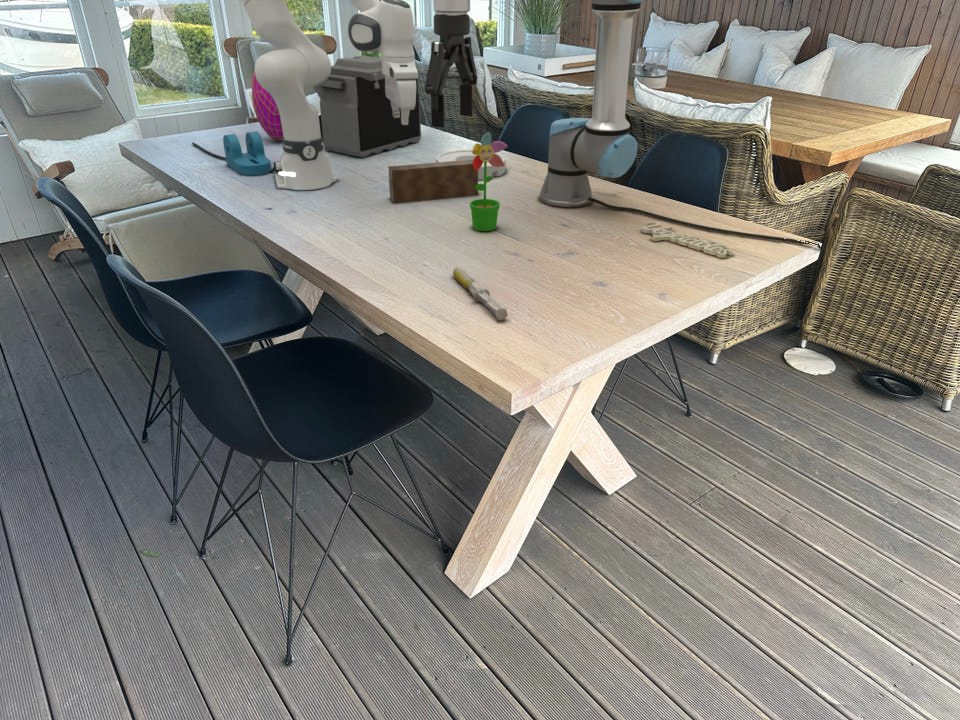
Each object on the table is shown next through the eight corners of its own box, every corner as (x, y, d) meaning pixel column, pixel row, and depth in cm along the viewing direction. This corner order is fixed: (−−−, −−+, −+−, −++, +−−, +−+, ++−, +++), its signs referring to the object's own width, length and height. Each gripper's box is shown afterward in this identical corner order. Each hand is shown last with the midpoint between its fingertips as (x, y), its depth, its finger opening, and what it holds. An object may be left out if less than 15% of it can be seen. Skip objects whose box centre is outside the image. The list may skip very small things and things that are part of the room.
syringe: (449, 274, 155) (449, 263, 153) (465, 272, 156) (464, 260, 154) (490, 323, 135) (491, 310, 133) (508, 319, 136) (508, 307, 134)
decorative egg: (293, 132, 276) (283, 50, 261) (319, 140, 264) (310, 56, 249) (249, 139, 265) (236, 54, 250) (273, 148, 253) (261, 60, 238)
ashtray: (439, 160, 240) (438, 148, 238) (505, 161, 240) (505, 150, 238) (433, 179, 220) (432, 166, 218) (505, 180, 220) (505, 168, 218)
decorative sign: (628, 228, 179) (651, 220, 185) (628, 232, 180) (651, 224, 186) (717, 257, 162) (740, 248, 168) (716, 261, 163) (739, 251, 169)
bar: (473, 190, 211) (473, 159, 206) (478, 194, 207) (478, 163, 202) (390, 198, 203) (388, 166, 198) (393, 203, 199) (391, 170, 194)
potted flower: (476, 234, 177) (477, 135, 164) (462, 225, 183) (462, 128, 170) (508, 229, 181) (511, 131, 168) (493, 220, 187) (496, 125, 174)
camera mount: (227, 164, 233) (221, 132, 227) (257, 160, 238) (252, 129, 233) (244, 176, 220) (239, 143, 215) (276, 172, 225) (271, 139, 220)
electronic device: (383, 133, 276) (378, 52, 261) (425, 141, 265) (422, 56, 250) (314, 150, 251) (304, 61, 235) (358, 160, 240) (350, 67, 224)
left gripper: (378, 62, 191) (381, 114, 198) (395, 73, 175) (398, 129, 182) (400, 61, 193) (402, 112, 200) (419, 72, 176) (421, 128, 184)
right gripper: (462, 9, 152) (462, 109, 163) (404, 16, 132) (409, 130, 143) (493, 10, 149) (491, 112, 160) (439, 18, 130) (441, 133, 140)
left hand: (400, 120), depth 191 cm, fingers open, 8 cm apart
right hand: (452, 121), depth 151 cm, fingers open, 13 cm apart
